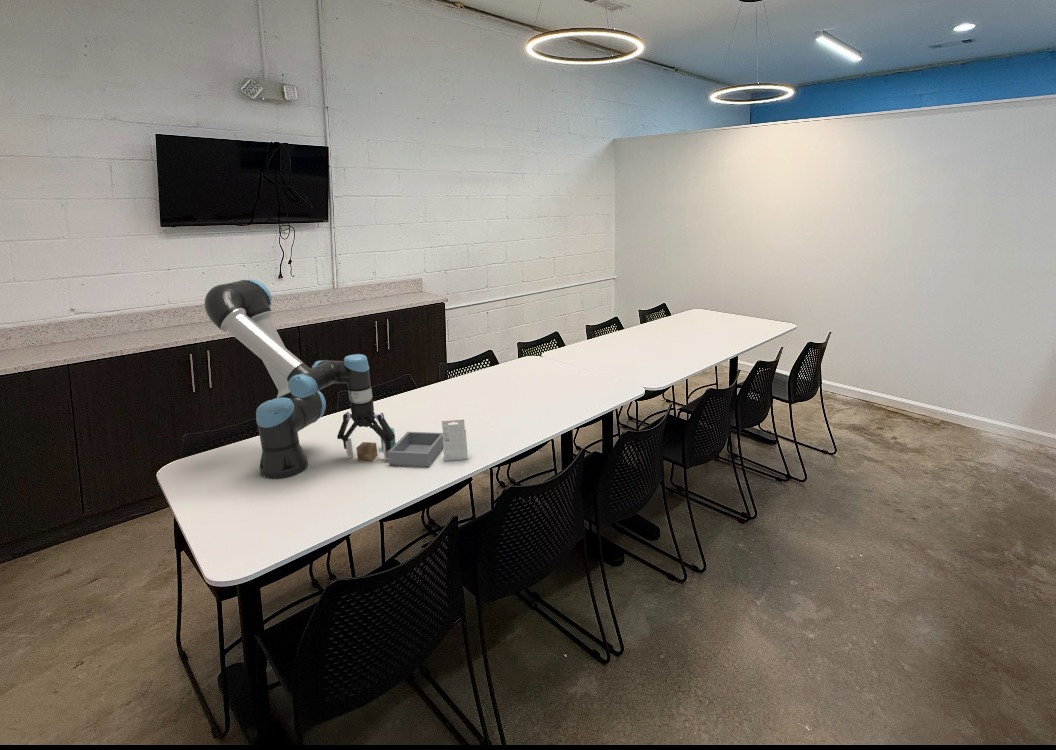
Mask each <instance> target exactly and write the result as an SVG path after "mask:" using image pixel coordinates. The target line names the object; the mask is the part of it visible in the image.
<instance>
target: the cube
mask: <svg viewBox="0 0 1056 750" xmlns="http://www.w3.org/2000/svg"><path fill="white" fill-rule="evenodd" d="M355 450H356V456H357V461H358V462H371V463H372V462H373V461H374V460H375V459H376V458H377V457H378V446H377V442H372V441H371V442H369V441H367V442H364V441H363V442H361V443H360V444H359V445H358V446H357V447H356V449H355Z"/></svg>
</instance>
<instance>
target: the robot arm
mask: <svg viewBox="0 0 1056 750" xmlns="http://www.w3.org/2000/svg"><path fill="white" fill-rule="evenodd" d="M272 299H273V298H272V294H271V291H270V290H269V288H268V287H267V286H266V285H265V284H264V283H262V282H261V281H259V280H255V279H241V280H238V281H233V282H229V283H222V284H217V285H215V286H213V287H212V288H211V289H209V291H208V292H207V293H206V295H205V298H204V309H205V312H206V314H207V316H208V318H209V319H210V321H211V322H212V323H213V324H214V325H215V326H216V327H217V328H218V329H219V330H221V331H222V332H223V333H229V334H231V335H232V337H234V338H236V339H237V340H238V341H239V342H240V343H242V344H243V345H244V346H245V347H246V348H247V349H249V350H250V351H251V352H252V353H253V354H254V355H255V356H257V357H258V358H259V359H260V360H261V361H262V363H263V365H264V366H265V368H266V370H267V371H268V374H269V375H270V377H271V379H272V381H273V384H274V385H275V386H276V389H277V390H278V391H277V396H276V397H275V398H273V399H269V400H266V401H265V402H263V403H261V404H259V406H258V407H257V408H256V410H255V416H256V419H255V422H256V425H257V430H258V435H259V439H260V445H261V456H260V463H259V472H260V473H261V474H260V476H262V477H263V476H265V477H264V478H266V477H268V478H267V479H281V478H282V479H284V478H288V477H293V476H295V475H297V474H300V473H302V472H303V471H305V470H306V469H307V468H308V467H309V461H308V456H307V455H306V453H305V451H304V449H303V448H302V446H301V444H300V438H299V432H300V431H301V430H303V429H305V428H307V427H308V426H310V425H311V424H314V423H316V422H317V421H319V419H320V418H322V417H323V416H324V414H325V411H326V409H327V403H326V398H325V396H324V394H323V393H322V392H321V390H323V389H325V388H327V387H329V386H331V385H333V384H346V386H347V390H348V398H349V407H350V412H351V413H350V412H348V411H347V412H345V413H344V414H343V415H342V423H341V426H340V428H339V430H338V433H337V436H336V438H337V439H338V440H341V441H342V442H343V448H344V449H345V450H346V456H347V459H349V460H350V459H352V457H353V456H354V451H353V445H352V438H350V436H352V433H353V432H354V431H355V430H356V428H357V427H359V428H362V427H364V428H368V427H369V428H370V429H372V430H373V431H374V432H375V433H376V434H377V436H378V437H380V439H381V438H382V439H383V440H384V442H383V450H384V451H383V450H382V451H383V457H384V460H385V461H388V460H389V459H388V451H389V450H390V449H391V443H390V441H392V440H393V439H394V438H395V439H396V435H394V433H393V432H392V430H391V428H392V427H390V426H389V424H388V422H387V420H386V418H385V415H384V413H383V412H380V413H375V407H374V400H373V391H372V385H371V377H370V366H369V361H368V357H367V356H366V355H365V354H360V353H356V354H350V355H346V356H345V357H344V358H343V360H327V359H324V360H317V361H315V362H314V364H313V365H312V366H311V368H310V366H308V365H307V364H306V363H304V362H303V361H302V360H301V359H300V358H298V357H297V356H296V355H295V354H293V353H292V352H291V351H290V350H288V349H287V348H286V346H285V344H284V342H283V340H282V338H281V337H280V334H279V333H278V331H277V329H276V327H275V325H274V323H273V321H272V318H271V316H272V314H273V311H272V309H271V306H272ZM350 419H351V420H352V421H353V423H352V424H351V425H350V427H349V429H348V430H347V428H348V425H349V422H350ZM375 419H376V420H375ZM377 421H378V422H377ZM346 430H347V431H346Z"/></svg>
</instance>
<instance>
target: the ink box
mask: <svg viewBox="0 0 1056 750" xmlns="http://www.w3.org/2000/svg"><path fill="white" fill-rule="evenodd" d="M453 423H454V424H453ZM455 423H457V424H455ZM441 426H442V433H443V434H442V437H443V457H444V459H443V460H444V462H449V461H463V460H468V459H469V457H468V443H467V432H466V429H465V426H466V425H465V419H457V420H456V419H454V420H442V421H441Z"/></svg>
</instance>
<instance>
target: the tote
mask: <svg viewBox="0 0 1056 750" xmlns="http://www.w3.org/2000/svg"><path fill="white" fill-rule="evenodd" d="M442 434H443V432H427V431H425V432H424V431H406V432H405V434H404V435H403V436H402V437H401V438H400V439H399V440H398V441H397V442H396V444H395V445H394V446H393V447H392V448H391V449H390V450H389V451H388V459H387V460H388V464H389V465H388V466H389V467H390V466H391V467H407V468H410V467H411V468H413V467H414V468H430V467H431V466H432V464H433V463H434V461H435V460H436V459H437V458H438V457H439V455H441V452H442V451H444V448H443V437H442Z"/></svg>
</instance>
